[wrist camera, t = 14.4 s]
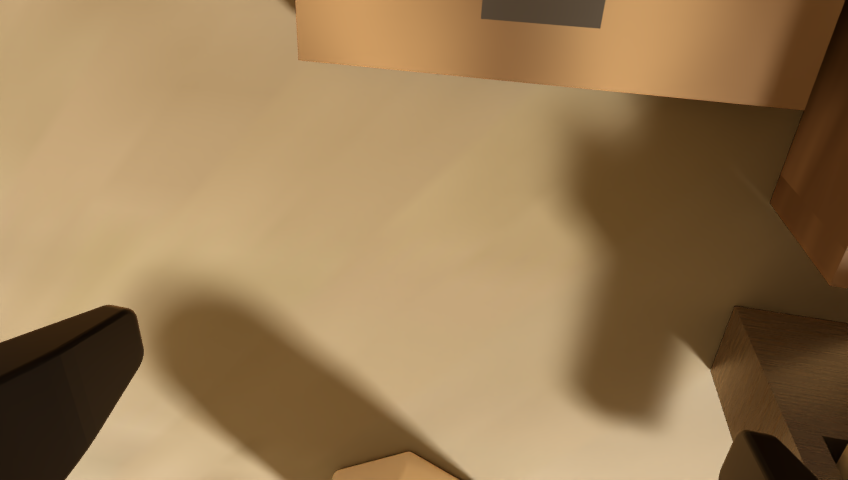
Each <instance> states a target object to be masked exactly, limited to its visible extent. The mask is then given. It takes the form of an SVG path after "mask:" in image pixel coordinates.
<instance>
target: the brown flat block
mask: <svg viewBox="0 0 848 480" xmlns="http://www.w3.org/2000/svg"><path fill="white" fill-rule="evenodd" d="M770 204H771V206H772V207H773V208H774V210H775V211H776V213H777V214H778V215H779V217H780V218H781V219H782V221H783V222H784V224H785V225H786V226H787V228H788V229H789V230H790V232H791V233H792V235H793V236H794V237H795V239H796V240H797V241H798V243H799V244H800V246H801V247H802V248H803V250H804V251H805V252H806V254H807V255H808V257H809V258H810V259H811V261H812V262H813V263H814V265H815V266H816V268H817V269H818V270H819V272H820V273H821V274H822V276H823V277H824V279H825V280H826V281H827V283H828V284H829V285H830V286H835V287H842V288H848V0H845V2H844V5H843V7H842V10H841V13H840V15H839V18H838V21H837V23H836V26H835V29H834V31H833V34H832V37H831V40H830V42H829V45H828V48H827V50H826V53H825V56H824V59H823V61H822V64H821V67H820V69H819V72H818V75H817V78H816V80H815V83H814V86H813V88H812V91H811V94H810V97H809V99H808V102H807V105H806V107H805V110H804V112H803V115H802V118H801V120H800V123H799V126H798V128H797V131H796V134H795V136H794V139H793V142H792V145H791V147H790V150H789V153H788V155H787V158H786V161H785V163H784V166H783V169H782V171H781V174H780V177H779V180H778V182H777V185H776V188H775V190H774V193H773V196H772V198H771V201H770Z"/></svg>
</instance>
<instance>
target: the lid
mask: <svg viewBox="0 0 848 480" xmlns="http://www.w3.org/2000/svg"><path fill="white" fill-rule="evenodd" d="M844 2H845V0H295V5H296V23H297V42H298V60H302V61H312V62H322V63H332V64H342V65H352V66H362V67H372V68H383V69H393V70H403V71H413V72H423V73H433V74H443V75H453V76H463V77H473V78H483V79H493V80H503V81H513V82H523V83H534V84H544V85H554V86H564V87H574V88H584V89H594V90H604V91H614V92H624V93H634V94H644V95H654V96H664V97H675V98H685V99H695V100H705V101H715V102H725V103H735V104H745V105H755V106H765V107H775V108H785V109H795V110H805V107H806V105H807V102H808V99H809V97H810V94H811V91H812V88H813V86H814V83H815V80H816V78H817V75H818V72H819V69H820V67H821V64H822V61H823V59H824V56H825V53H826V50H827V48H828V45H829V42H830V40H831V37H832V34H833V31H834V29H835V26H836V23H837V21H838V18H839V15H840V12H841V10H842V7H843V4H844Z"/></svg>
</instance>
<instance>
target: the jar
mask: <svg viewBox="0 0 848 480" xmlns="http://www.w3.org/2000/svg"><path fill="white" fill-rule="evenodd" d="M332 480H459V479H457V478H456V477H454V476H452V475H450V474H449V473H447V472H445V471H444V470H442V469H440V468H438V467H437V466H435V465H433V464H431V463H430V462H428V461H426V460H424V459H423V458H421V457H419V456H417V455H416V454H414V453H412V452H404V453H400V454H397V455H393V456H389V457H385V458H382V459H378V460H374V461H370V462H367V463H363V464H359V465H355V466H351V467H348V468H344V469H340V470H337V471H336V472H335V473H334V475H333V477H332Z"/></svg>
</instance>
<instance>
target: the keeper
mask: <svg viewBox="0 0 848 480" xmlns="http://www.w3.org/2000/svg"><path fill="white" fill-rule="evenodd" d="M711 374H712V377H713V381H714V384H715V387H716V390H717V393H718V396H719V399H720V402H721V406H722V409H723V412H724V415H725V418H726V421H727V424H728V427H729V431H730V434H731V437H732V440H733V441H734V439H735V437H736V435H737V434H738V433H739V432H740V431H742V430H750V431H755V432H761V433H766V434H770V435H773V436H775V437H777V438H778V439H779V440H780V441H781V442H782V443H783V444H784V445H785V446H786V447H787V448H788V449H789V450H790V451H791V452H792V453H793V454H794V455H795V456H796V457H797V458H798V459H799V460H800V461H801V462H802V463H803V464H804V465H805V466H806V467H807V468H808V469H809V470H810V471H811V472H812V473H813V474H814V475H815V476H816V477H817V478H818V479H819V480H843V478H842V476H841V474H840V472H839V470H838V468H837V466H836V464H837V462H838V460H839V458H840V457H841V455H842V453H843V451H844V450H845V448H846V446H847V444H848V323H842V322H835V321H829V320H822V319H816V318H810V317H803V316H797V315H790V314H784V313H777V312H771V311H764V310H758V309H751V308H745V307H739V306H735V307H734V309H733V312H732V315H731V317H730V320H729V323H728V325H727V328H726V331H725V333H724V336H723V339H722V341H721V344H720V347H719V349H718V352H717V355H716V357H715V360H714V363H713V365H712V368H711Z"/></svg>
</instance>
